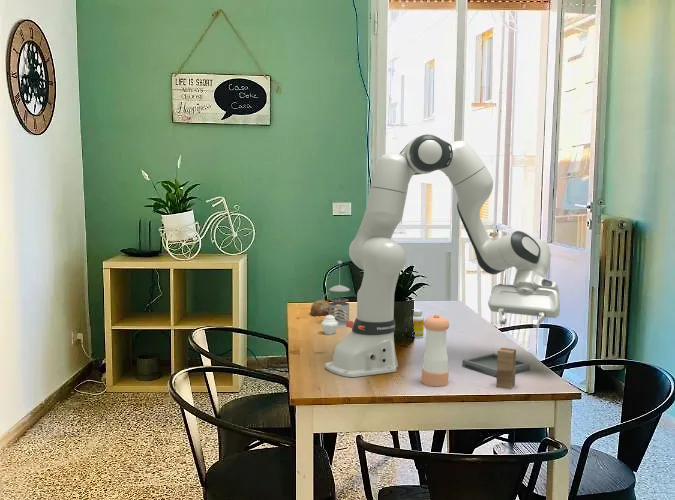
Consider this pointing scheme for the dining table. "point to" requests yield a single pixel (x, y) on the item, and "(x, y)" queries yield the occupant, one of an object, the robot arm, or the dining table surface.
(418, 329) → the supplement bottle
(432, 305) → the dining table surface
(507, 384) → the walnut block
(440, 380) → the pepper shaker
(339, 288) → the french press
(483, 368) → the tray
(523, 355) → the dining table surface
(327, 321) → the muffin
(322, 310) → the bread roll
